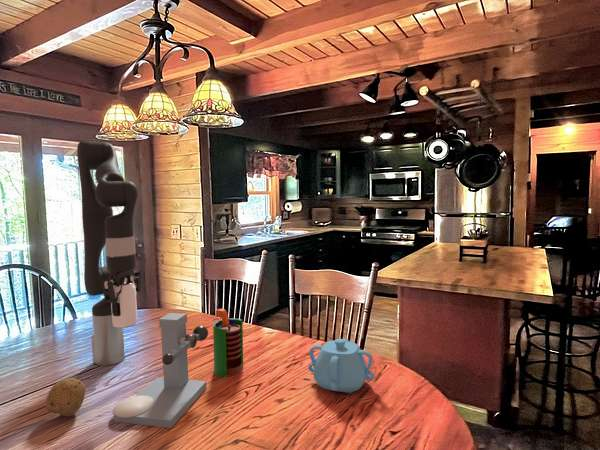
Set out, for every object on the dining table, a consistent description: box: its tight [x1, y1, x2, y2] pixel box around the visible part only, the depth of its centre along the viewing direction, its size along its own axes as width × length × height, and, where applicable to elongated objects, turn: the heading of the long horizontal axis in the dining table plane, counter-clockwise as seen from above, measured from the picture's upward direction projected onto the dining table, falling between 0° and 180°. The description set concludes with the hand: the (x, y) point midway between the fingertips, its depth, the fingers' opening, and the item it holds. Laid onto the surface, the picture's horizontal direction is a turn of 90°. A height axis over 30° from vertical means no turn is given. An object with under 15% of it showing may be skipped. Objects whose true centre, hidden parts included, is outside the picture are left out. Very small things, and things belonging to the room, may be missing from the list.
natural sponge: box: [44, 377, 86, 418], centre depth 102 cm, size 9×9×10 cm
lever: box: [161, 325, 209, 365], centre depth 107 cm, size 4×22×4 cm, turn 168°
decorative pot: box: [308, 338, 375, 394], centre depth 115 cm, size 16×16×14 cm
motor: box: [212, 308, 244, 378], centre depth 126 cm, size 10×9×20 cm
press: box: [112, 312, 207, 429], centre depth 106 cm, size 18×21×22 cm
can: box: [111, 281, 138, 329], centre depth 109 cm, size 6×6×12 cm
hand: (124, 311), depth 109 cm, fingers closed on can, 5 cm apart
